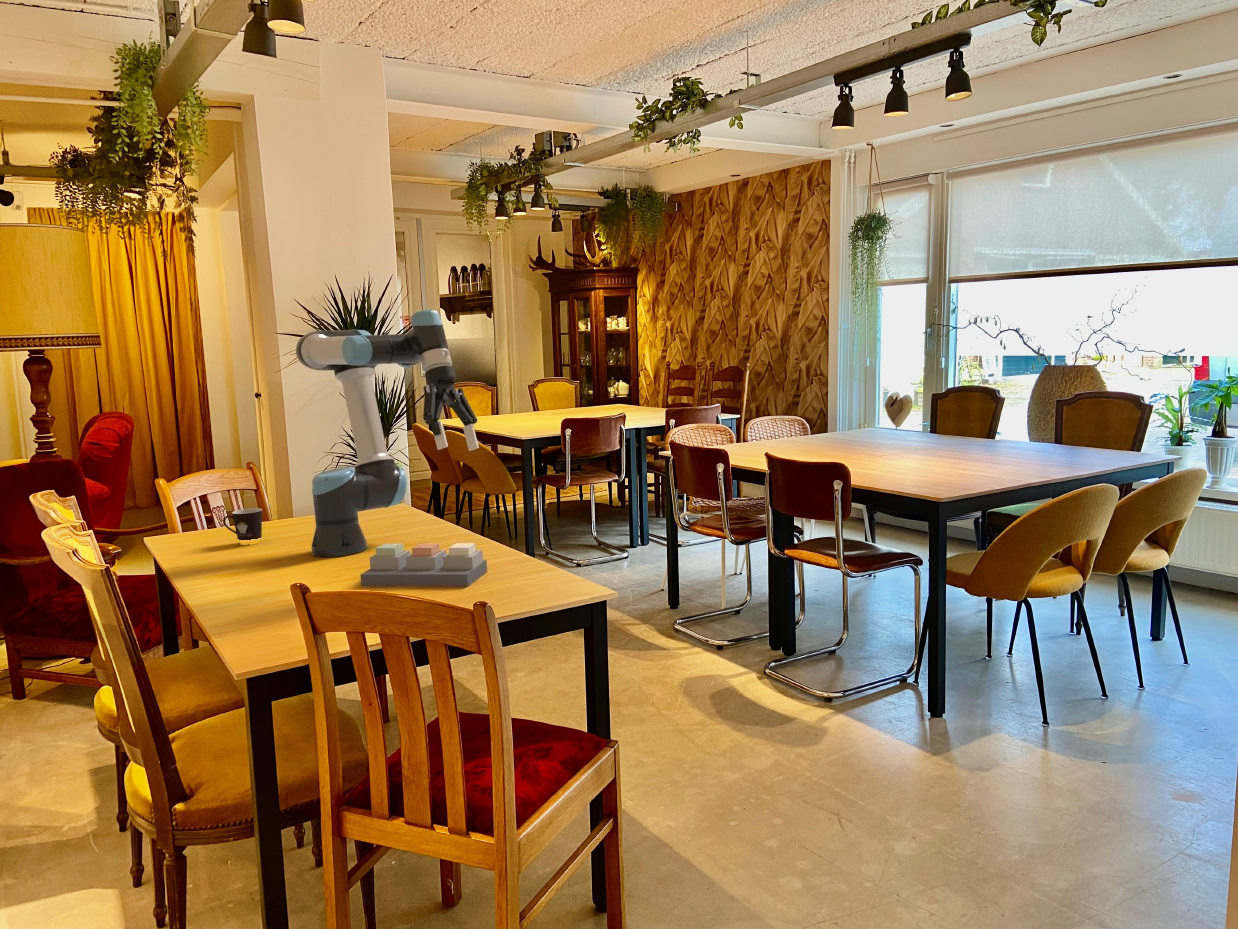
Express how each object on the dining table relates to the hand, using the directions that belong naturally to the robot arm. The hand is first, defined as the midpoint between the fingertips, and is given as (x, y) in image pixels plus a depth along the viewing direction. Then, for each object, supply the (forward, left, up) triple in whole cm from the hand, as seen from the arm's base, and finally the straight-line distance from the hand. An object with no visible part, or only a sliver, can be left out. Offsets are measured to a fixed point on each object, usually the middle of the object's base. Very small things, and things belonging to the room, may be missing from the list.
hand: (458, 448), depth 223 cm
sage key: (-16, -10, -26) cm, 32 cm away
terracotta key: (-7, -10, -26) cm, 28 cm away
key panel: (-7, -11, -31) cm, 33 cm away
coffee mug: (-82, +31, -31) cm, 93 cm away
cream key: (+3, -10, -26) cm, 28 cm away
